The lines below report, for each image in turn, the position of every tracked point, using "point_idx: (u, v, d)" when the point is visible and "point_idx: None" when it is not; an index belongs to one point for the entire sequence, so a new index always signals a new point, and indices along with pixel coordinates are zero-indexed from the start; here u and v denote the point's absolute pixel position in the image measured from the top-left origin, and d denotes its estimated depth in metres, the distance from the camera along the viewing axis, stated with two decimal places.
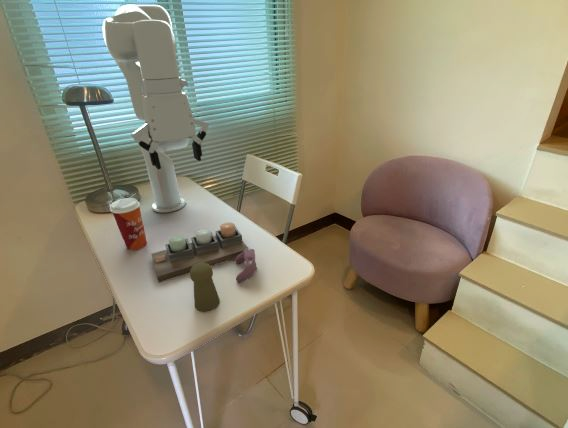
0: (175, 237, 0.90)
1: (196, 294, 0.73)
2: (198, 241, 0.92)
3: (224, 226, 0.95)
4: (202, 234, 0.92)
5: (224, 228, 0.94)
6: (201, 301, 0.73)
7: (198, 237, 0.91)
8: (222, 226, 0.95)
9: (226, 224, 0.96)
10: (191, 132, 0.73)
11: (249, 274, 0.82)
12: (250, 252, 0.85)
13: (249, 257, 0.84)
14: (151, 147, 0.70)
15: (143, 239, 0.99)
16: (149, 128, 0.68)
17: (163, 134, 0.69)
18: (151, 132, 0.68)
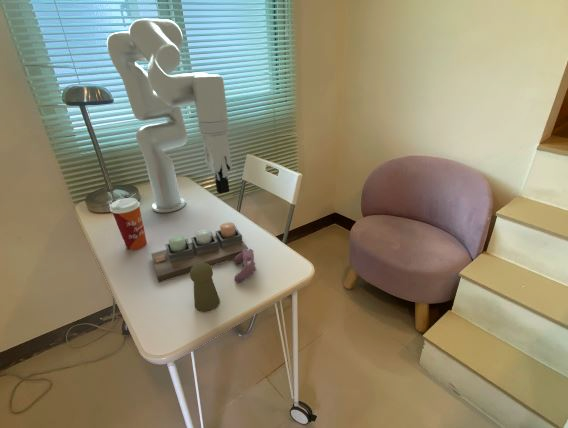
0: (175, 237, 0.90)
1: (196, 294, 0.73)
2: (198, 241, 0.92)
3: (224, 226, 0.95)
4: (202, 234, 0.92)
5: (224, 228, 0.94)
6: (201, 301, 0.73)
7: (198, 237, 0.91)
8: (222, 226, 0.95)
9: (226, 224, 0.96)
10: None
11: (248, 274, 0.82)
12: (249, 252, 0.85)
13: (248, 257, 0.84)
14: None
15: (143, 239, 0.99)
16: (228, 159, 0.82)
17: None
18: (230, 162, 0.82)
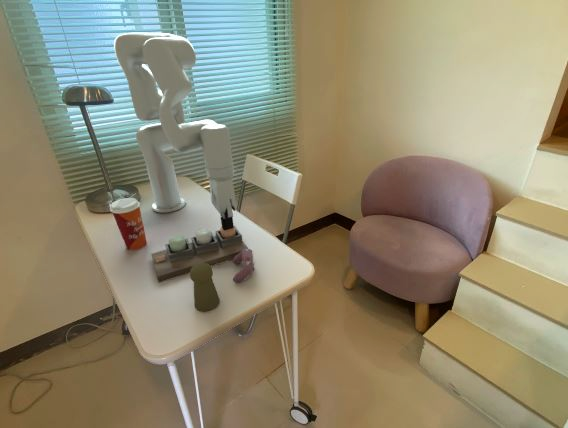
0: (175, 237, 0.90)
1: (196, 294, 0.73)
2: (198, 241, 0.92)
3: None
4: (202, 234, 0.92)
5: (224, 230, 0.95)
6: (201, 301, 0.73)
7: (198, 237, 0.91)
8: (222, 228, 0.96)
9: None
10: None
11: (247, 274, 0.82)
12: (248, 252, 0.85)
13: (247, 257, 0.83)
14: None
15: (143, 239, 0.99)
16: (233, 201, 0.87)
17: None
18: (235, 203, 0.88)
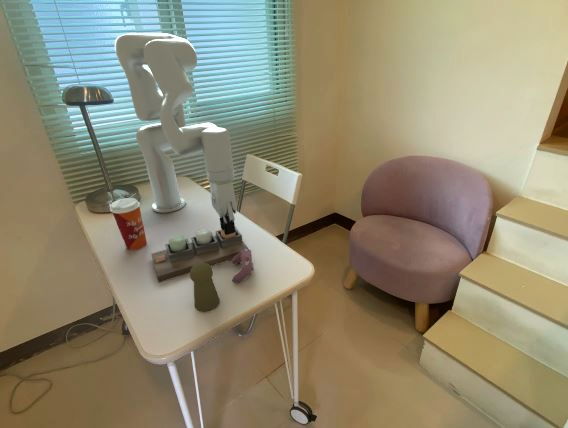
0: (175, 237, 0.90)
1: (196, 294, 0.73)
2: (198, 241, 0.92)
3: None
4: (202, 234, 0.92)
5: (224, 233, 0.95)
6: (201, 301, 0.73)
7: (198, 237, 0.91)
8: (223, 230, 0.96)
9: None
10: None
11: (246, 275, 0.82)
12: (247, 253, 0.85)
13: (246, 258, 0.83)
14: None
15: (143, 239, 0.99)
16: (233, 204, 0.88)
17: None
18: (235, 206, 0.88)
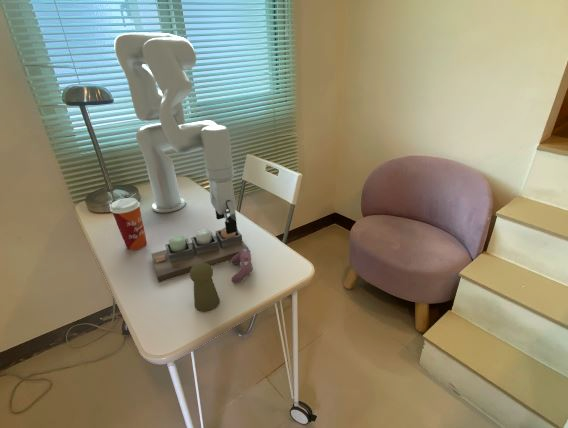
0: (175, 237, 0.90)
1: (196, 294, 0.73)
2: (198, 241, 0.92)
3: (224, 231, 0.96)
4: (202, 234, 0.92)
5: (224, 233, 0.95)
6: (201, 301, 0.73)
7: (198, 237, 0.91)
8: (223, 230, 0.96)
9: None
10: None
11: (245, 275, 0.82)
12: (246, 253, 0.85)
13: (245, 258, 0.83)
14: None
15: (143, 239, 0.99)
16: (233, 202, 0.88)
17: None
18: (234, 204, 0.88)
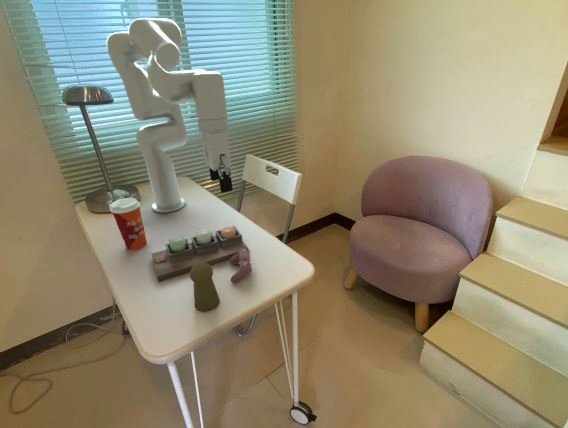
0: (175, 237, 0.90)
1: (196, 294, 0.73)
2: (198, 241, 0.92)
3: (224, 231, 0.96)
4: (202, 234, 0.92)
5: (224, 233, 0.95)
6: (201, 301, 0.73)
7: (198, 237, 0.91)
8: (223, 230, 0.96)
9: (227, 228, 0.97)
10: None
11: (244, 275, 0.82)
12: (245, 253, 0.85)
13: (244, 258, 0.83)
14: None
15: (143, 239, 0.99)
16: (227, 157, 0.82)
17: None
18: (229, 160, 0.82)
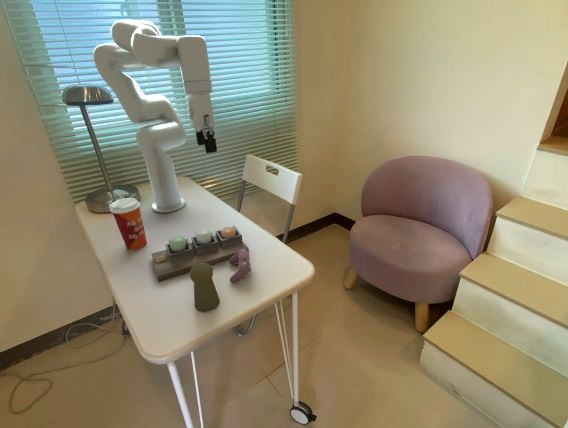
0: (175, 237, 0.90)
1: (196, 294, 0.73)
2: (198, 241, 0.92)
3: (224, 231, 0.96)
4: (202, 234, 0.92)
5: (224, 233, 0.95)
6: (201, 301, 0.73)
7: (198, 237, 0.91)
8: (223, 230, 0.96)
9: (227, 228, 0.97)
10: None
11: (243, 275, 0.82)
12: (244, 253, 0.85)
13: (243, 258, 0.83)
14: None
15: (143, 239, 0.99)
16: (211, 118, 0.87)
17: None
18: (213, 121, 0.88)
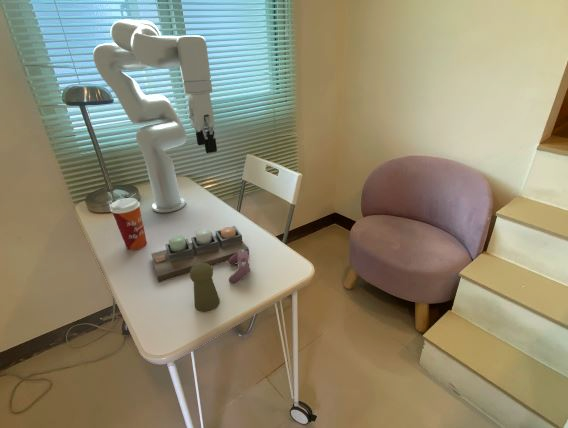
0: (175, 237, 0.90)
1: (196, 294, 0.73)
2: (198, 241, 0.92)
3: (224, 231, 0.96)
4: (202, 234, 0.92)
5: (224, 233, 0.95)
6: (201, 301, 0.73)
7: (198, 237, 0.91)
8: (223, 230, 0.96)
9: (227, 228, 0.97)
10: None
11: (242, 275, 0.82)
12: (243, 253, 0.85)
13: (242, 258, 0.83)
14: None
15: (143, 239, 0.99)
16: (211, 118, 0.87)
17: None
18: (213, 121, 0.88)
